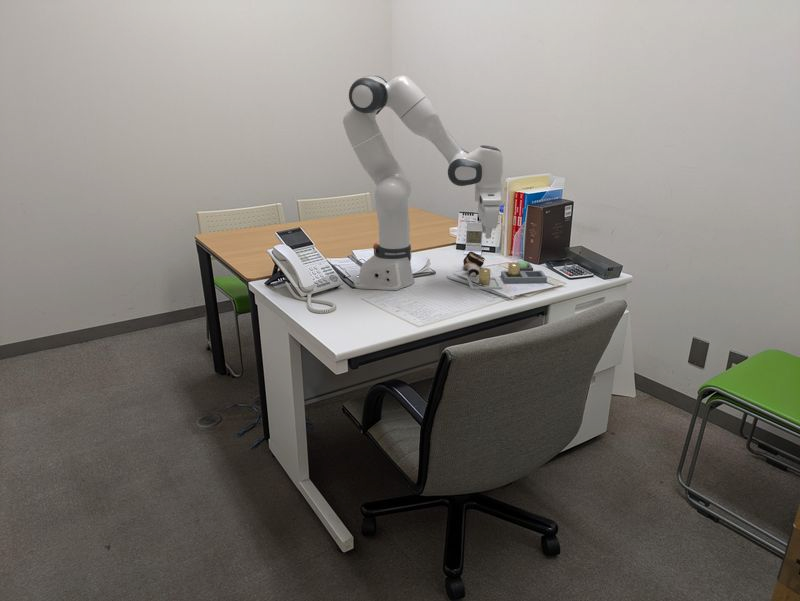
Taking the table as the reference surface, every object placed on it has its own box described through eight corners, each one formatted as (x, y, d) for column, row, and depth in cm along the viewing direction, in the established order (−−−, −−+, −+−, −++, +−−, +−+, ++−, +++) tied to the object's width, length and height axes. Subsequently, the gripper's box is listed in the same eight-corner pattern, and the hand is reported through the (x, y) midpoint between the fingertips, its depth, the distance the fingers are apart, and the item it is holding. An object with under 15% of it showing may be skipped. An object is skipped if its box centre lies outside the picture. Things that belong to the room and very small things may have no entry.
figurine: (468, 267, 199) (467, 246, 211) (457, 283, 204) (456, 262, 216) (489, 277, 201) (487, 257, 213) (477, 293, 205) (476, 272, 218)
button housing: (513, 278, 205) (514, 268, 203) (510, 272, 211) (510, 262, 210) (532, 278, 205) (533, 268, 203) (528, 272, 211) (529, 262, 210)
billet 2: (508, 281, 198) (509, 265, 196) (506, 278, 202) (507, 262, 200) (519, 281, 198) (520, 265, 196) (517, 277, 202) (518, 262, 200)
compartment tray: (503, 287, 197) (504, 278, 195) (499, 278, 205) (499, 270, 204) (548, 286, 197) (548, 277, 195) (541, 278, 205) (542, 270, 204)
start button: (517, 274, 206) (517, 263, 204) (515, 270, 210) (515, 260, 208) (527, 273, 206) (528, 263, 204) (525, 270, 210) (526, 260, 208)
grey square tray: (470, 292, 192) (470, 287, 191) (466, 282, 202) (467, 277, 201) (502, 292, 192) (502, 287, 191) (496, 281, 202) (496, 277, 201)
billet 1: (479, 287, 195) (479, 271, 193) (477, 283, 199) (478, 268, 196) (490, 287, 195) (491, 271, 193) (488, 283, 199) (489, 268, 196)
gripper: (474, 190, 195) (473, 228, 200) (483, 201, 176) (481, 243, 181) (492, 189, 195) (490, 227, 200) (502, 201, 176) (500, 242, 181)
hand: (486, 235), depth 190 cm, fingers open, 6 cm apart
